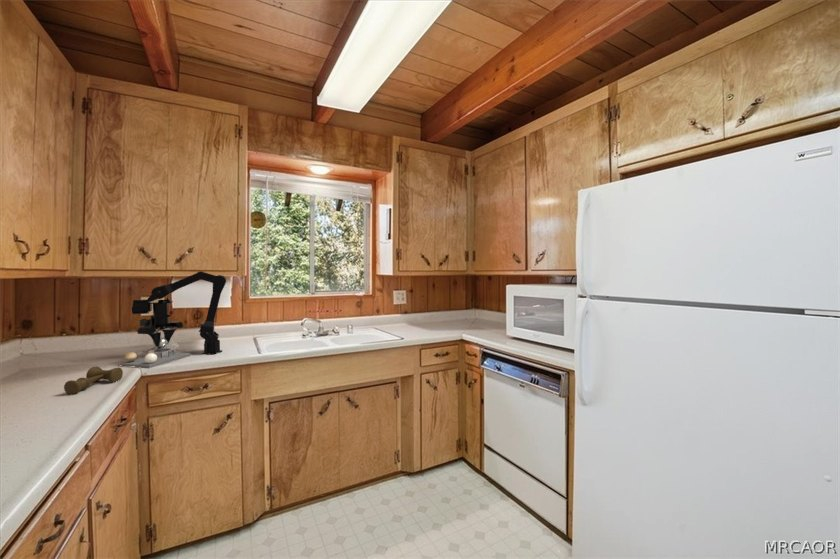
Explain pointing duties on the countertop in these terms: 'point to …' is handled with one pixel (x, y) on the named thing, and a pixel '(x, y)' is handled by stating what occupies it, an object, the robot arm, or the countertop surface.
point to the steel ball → (162, 342)
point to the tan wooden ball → (130, 357)
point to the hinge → (170, 344)
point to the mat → (141, 361)
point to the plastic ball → (150, 358)
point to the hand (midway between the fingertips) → (162, 345)
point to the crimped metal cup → (163, 352)
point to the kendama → (92, 379)
